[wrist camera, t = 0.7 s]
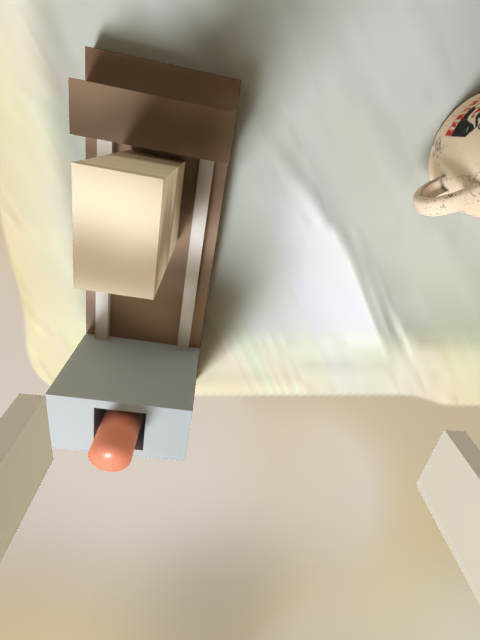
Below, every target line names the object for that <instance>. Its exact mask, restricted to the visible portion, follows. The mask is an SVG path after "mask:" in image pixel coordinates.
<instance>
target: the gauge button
mask: <svg viewBox="0 0 480 640" xmlns="http://www.w3.org/2000/svg"><path fill="white" fill-rule="evenodd" d="M142 420H143V414H142V413H137V412H128V411H119V410H110V409H106V411H105V414H104V416H103V418H102V421H101V423H100V426H99V428H98V430H97V433H96V435H95V438H94V440H93V442H92V445H91V447H90V449H89V452H88V457H89V460H90V462H91V463H92V464H93V465H94V466H95V467H97V468H98V469H101V470H103V471H108V472H116V471H120V470H123V469H125V468H126V467H128V466H129V464H130V462H131V459H132V456H133V452H134V449H135V445H136V441H137V438H138V434H139V431H140V427H141V424H142Z"/></svg>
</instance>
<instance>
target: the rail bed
mask: <svg viewBox="0 0 480 640" xmlns="http://www.w3.org/2000/svg"><path fill="white" fill-rule="evenodd" d="M240 84H241V80H238V79H233V78H229V77H224V76H219V75H215V74H210V73H206V72H201V71H197V70H192V69H187V68H183V67H178V66H174V65H169V64H165V63H160V62H156V61H151V60H146V59H142V58H137V57H133V56H128V55H124V54H119V53H114V52H110V51H105V50H101V49H96V48H92V47H87V46H85V81H84V80H79V79H74V78H69V122H70V134H73V135H79V136H84V137H86V159H89V158H94V157H98V156H103V155H107V154H112V153H116V152H120V151H125V150H133V151H138V152H143V153H149V154H154V155H159V156H164V157H170V158H175V159H180V160H185V161H186V163H185V173H184V182H183V191H182V201H181V210H180V219H179V229H178V238H177V244H176V246H175V249H174V251H173V253H172V256H171V258H170V261H169V263H168V266H167V268H166V270H165V273H164V275H163V278H162V280H161V283H160V285H159V287H158V290H157V292H156V295H155V297H154V300H150V299H144V298H137V297H130V296H123V295H116V294H110V293H103V292H96V291H89V290H86V333H89V334H95V339H97V340H104V341H107V340H108V338H109V337H110V336H111V337H119V338H126V339H133V340H141V341H148V342H156V343H163V344H171V345H177V350H180V351H187V352H188V347H193V348H200V342H201V336H202V329H203V323H204V316H205V310H206V304H207V297H208V291H209V284H210V278H211V271H212V265H213V258H214V252H215V245H216V239H217V232H218V226H219V219H220V213H221V207H222V200H223V194H224V187H225V181H226V174H227V168H228V164H229V161H230V155H231V149H232V142H233V136H234V129H235V123H236V117H237V112H236V109H237V103H238V97H239V90H240Z"/></svg>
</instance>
